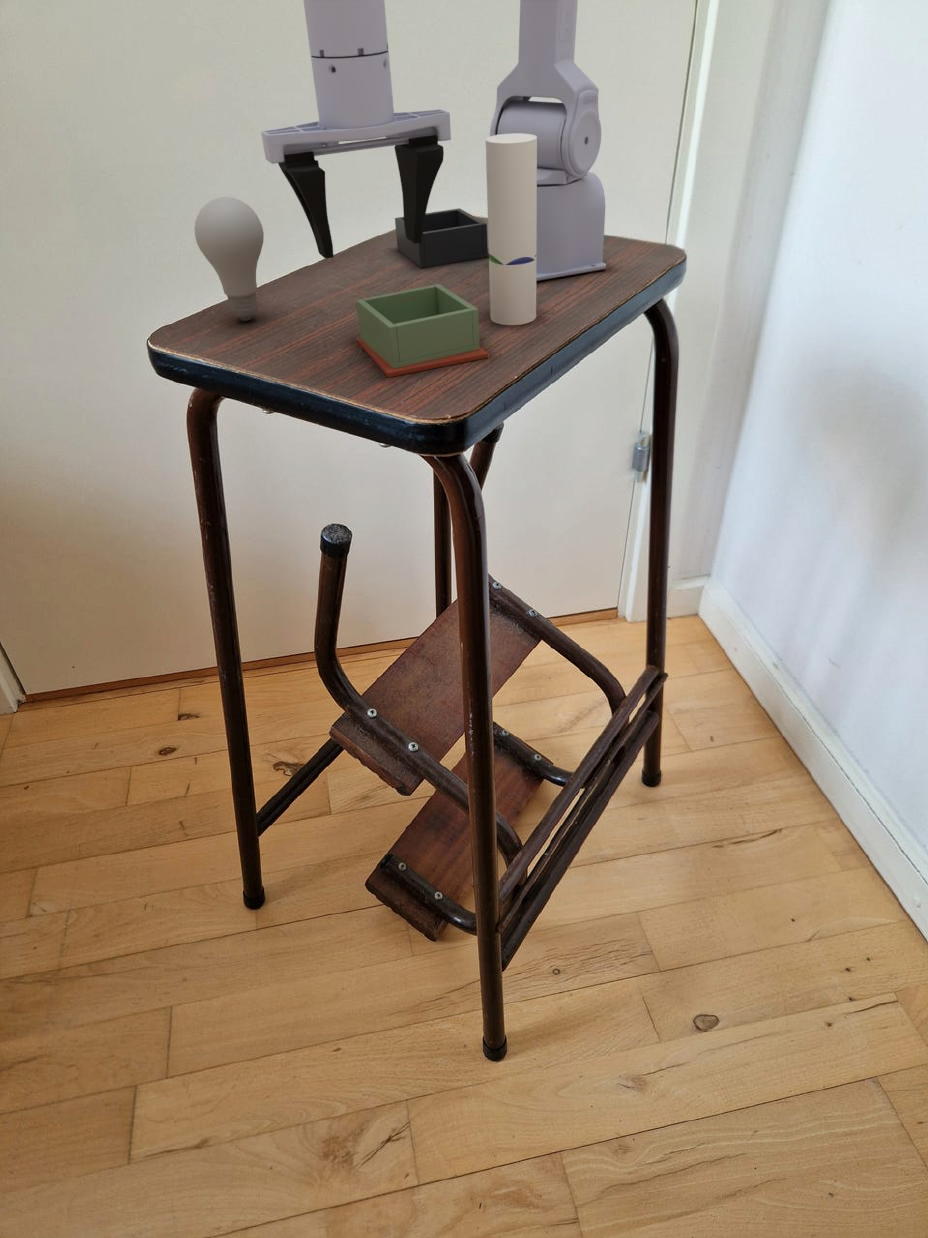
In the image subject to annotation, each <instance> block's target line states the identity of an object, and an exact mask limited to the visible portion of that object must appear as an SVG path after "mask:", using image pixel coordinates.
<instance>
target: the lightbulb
mask: <svg viewBox="0 0 928 1238" xmlns="http://www.w3.org/2000/svg"><path fill="white" fill-rule="evenodd" d="M194 237H195V243H196V244H197V246H198V248H199V250H200V252H201V253H202V255H203V256H204V258H205V259H206V261H207V262H208V263H209V264H210V265H211V266H212V268H213V269H214V271H215V273H216V275H217V276H218V279H219V281H220V284H221V287H222V290H223V294H224V295H226V297H227V300H228V305H229V309H230V311H231V315H232V316H233V317H235V318H236V319H237V318H238V319H239V320H240V321H243V322H246V321H250V320H252V319H253V317H254V316H255V315H257V314H258V312H259V309H258V300H257V294H256V292H257V291H258V285H257V269H258V268H257V267H258V263H259V259H260V256H261V253H262V249H263V246H264V237H265V235H264V229H263V224H262V222H261V220H260V218H259V216H258V214H257V212H256V211H254V209H253V208H252V207H251V206H250V205H249V204H248V203H245V202H244V201H242V200H240V199H237V198H236V197H229V196H219V197H216V198H214V199H211V200H210V201H208V202H207V203H205V205H203V206H202V208H200V210H199V212H198V214H197V215H196V219H195V221H194Z"/></svg>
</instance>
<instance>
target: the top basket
mask: <svg viewBox="0 0 928 1238" xmlns="http://www.w3.org/2000/svg"><path fill="white" fill-rule="evenodd" d="M355 303H356V311H357V320H358V328H359V338H361V340H362V341H363V342H365V343H366V344H367V345H368V346H369V347H370V348H371V349H372V350H373V351H375V352H376V353H377V354H378V355H379V356H380V357H381V358H382V359H383V360H385V361H386V362H387V363H388V364H389V365H390V366H391V367H392V368H393V369H395V368H400V367H404V366H409V365H413V364H417V363H422V362H426V361H431V360H435V359H440V358H444V357H449V356H453V355H457V354H462V353H466V352H471V351H475V350H479V346H480V327H479V326H480V325H479V322H480V321H479V308H477V307H476V306H475V305H473V304H471V303H470V302H469V301H466V300H465V299H463V298H462V297H461V296H459V295H457V294H456V293H454V292H453V291H451V290H449V289H448V288H447V287H445V286H443V285H441V284H440V283H436V284H432V285H426V286H421V287H416V288H410V289H405V290H400V291H395V292H390V293H385V294H380V295H374V296H369V297H365V298H359V299H356V300H355Z"/></svg>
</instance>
